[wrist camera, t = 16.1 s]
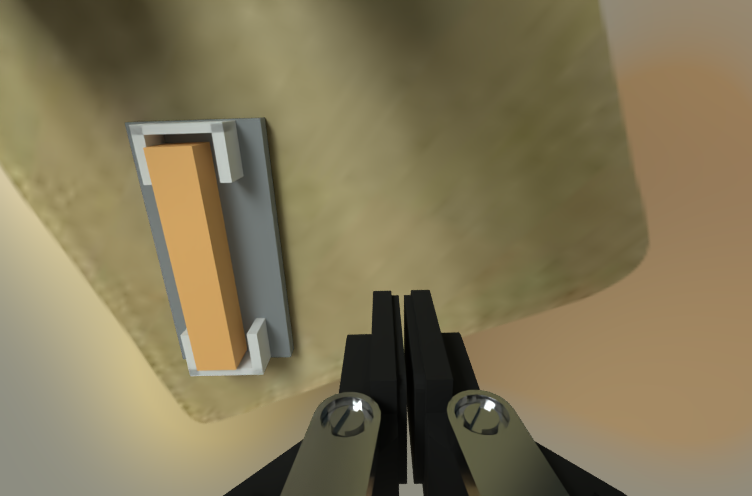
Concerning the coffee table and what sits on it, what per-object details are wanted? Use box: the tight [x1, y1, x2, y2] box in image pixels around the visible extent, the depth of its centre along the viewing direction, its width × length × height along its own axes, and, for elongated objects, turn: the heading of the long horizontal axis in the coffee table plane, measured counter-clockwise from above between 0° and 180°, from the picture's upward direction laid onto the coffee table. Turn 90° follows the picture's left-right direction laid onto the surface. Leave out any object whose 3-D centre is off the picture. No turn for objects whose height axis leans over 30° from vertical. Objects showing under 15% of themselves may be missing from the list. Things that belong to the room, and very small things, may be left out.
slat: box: [143, 142, 247, 371], centre depth 37 cm, size 22×4×4 cm, turn 2°
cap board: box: [125, 118, 294, 376], centre depth 38 cm, size 25×12×4 cm, turn 2°
